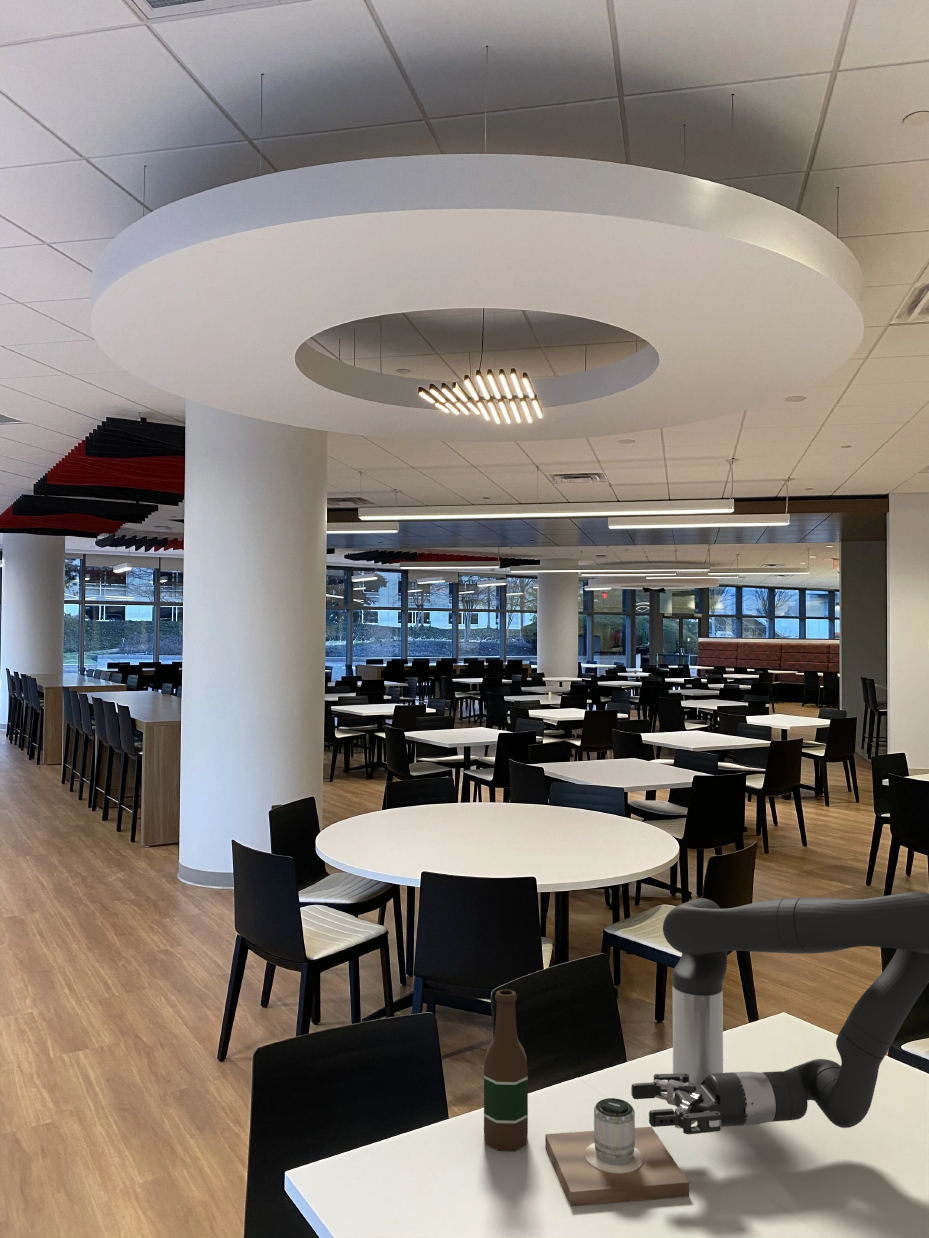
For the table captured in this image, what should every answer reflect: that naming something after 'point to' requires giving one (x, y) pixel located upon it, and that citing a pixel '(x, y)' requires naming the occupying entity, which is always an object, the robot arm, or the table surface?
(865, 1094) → the robot arm
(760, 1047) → the table surface
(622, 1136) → the camera lens
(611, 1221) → the table surface
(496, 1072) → the beer bottle
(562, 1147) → the display stand
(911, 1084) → the table surface
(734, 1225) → the table surface
